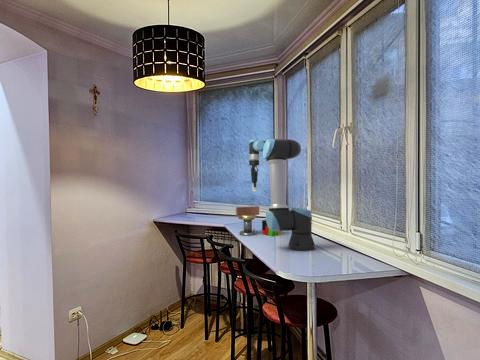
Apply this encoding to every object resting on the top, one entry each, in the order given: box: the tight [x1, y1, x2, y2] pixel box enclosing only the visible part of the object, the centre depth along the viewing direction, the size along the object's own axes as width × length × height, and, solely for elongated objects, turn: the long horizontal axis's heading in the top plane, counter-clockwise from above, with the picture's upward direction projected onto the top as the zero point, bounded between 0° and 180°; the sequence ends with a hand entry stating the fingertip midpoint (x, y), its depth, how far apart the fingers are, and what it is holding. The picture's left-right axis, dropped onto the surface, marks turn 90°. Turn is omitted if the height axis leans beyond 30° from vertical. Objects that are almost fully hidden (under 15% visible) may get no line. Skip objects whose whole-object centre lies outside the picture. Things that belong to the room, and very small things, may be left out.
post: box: [238, 220, 257, 237], centre depth 225 cm, size 12×12×11 cm
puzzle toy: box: [261, 219, 283, 237], centre depth 224 cm, size 10×10×10 cm
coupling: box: [235, 205, 260, 221], centre depth 225 cm, size 17×10×9 cm, turn 110°
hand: (254, 191), depth 234 cm, fingers closed
